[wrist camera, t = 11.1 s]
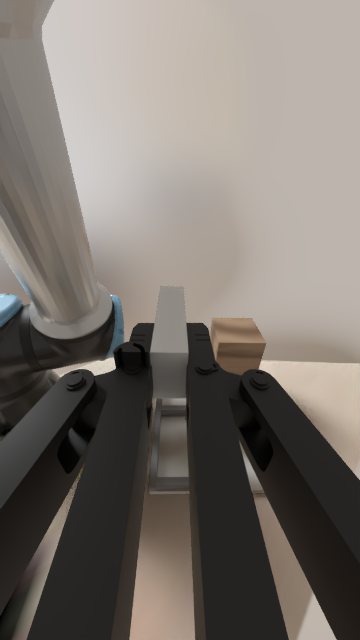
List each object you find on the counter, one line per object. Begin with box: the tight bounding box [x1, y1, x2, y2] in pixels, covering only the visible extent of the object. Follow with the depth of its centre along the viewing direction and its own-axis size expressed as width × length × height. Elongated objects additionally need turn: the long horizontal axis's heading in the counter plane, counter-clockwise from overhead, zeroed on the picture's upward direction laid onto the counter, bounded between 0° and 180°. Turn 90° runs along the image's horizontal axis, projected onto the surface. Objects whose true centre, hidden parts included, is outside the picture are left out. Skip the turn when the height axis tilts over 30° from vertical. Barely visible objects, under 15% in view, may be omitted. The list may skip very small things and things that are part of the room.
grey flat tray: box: [149, 398, 265, 494], centre depth 42 cm, size 25×21×3 cm
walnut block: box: [210, 318, 266, 376], centre depth 43 cm, size 8×8×16 cm
